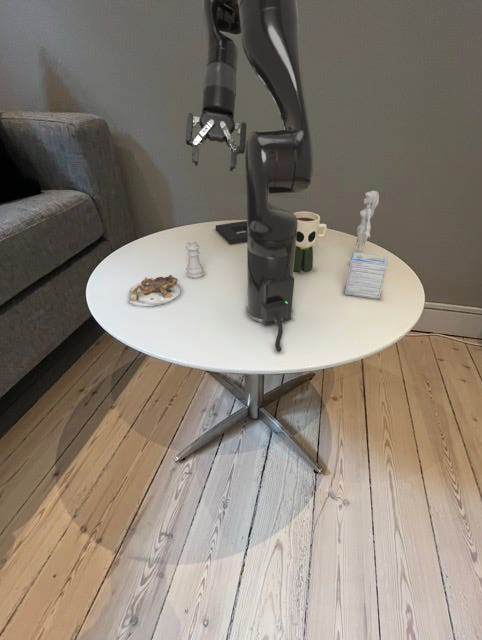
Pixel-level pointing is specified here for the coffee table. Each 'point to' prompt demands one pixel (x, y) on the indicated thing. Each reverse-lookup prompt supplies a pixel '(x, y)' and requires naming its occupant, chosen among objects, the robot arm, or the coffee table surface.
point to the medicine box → (366, 275)
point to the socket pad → (233, 232)
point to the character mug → (307, 239)
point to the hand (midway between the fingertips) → (213, 167)
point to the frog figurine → (154, 291)
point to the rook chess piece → (193, 261)
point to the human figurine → (366, 213)
